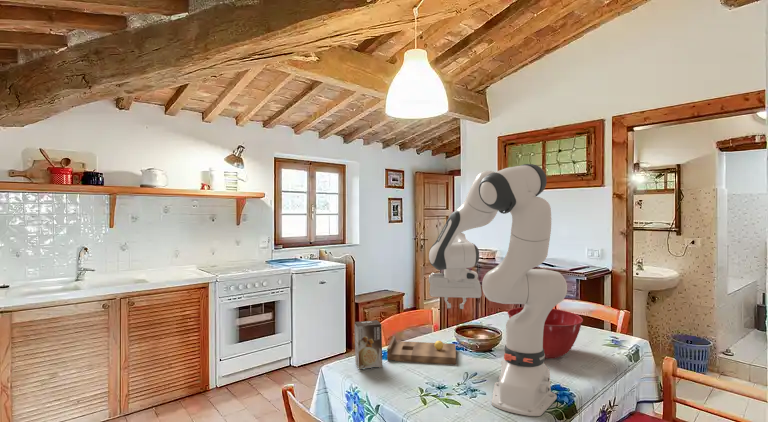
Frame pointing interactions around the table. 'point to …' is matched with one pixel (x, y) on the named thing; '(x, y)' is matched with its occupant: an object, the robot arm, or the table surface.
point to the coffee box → (368, 344)
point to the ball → (438, 345)
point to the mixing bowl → (557, 331)
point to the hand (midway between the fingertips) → (455, 308)
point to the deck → (421, 352)
